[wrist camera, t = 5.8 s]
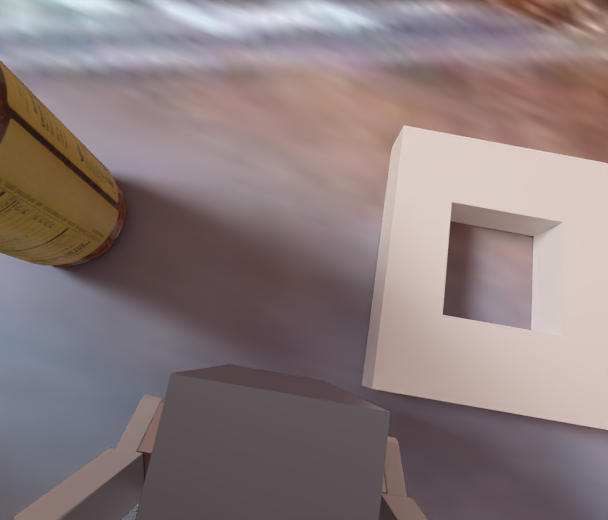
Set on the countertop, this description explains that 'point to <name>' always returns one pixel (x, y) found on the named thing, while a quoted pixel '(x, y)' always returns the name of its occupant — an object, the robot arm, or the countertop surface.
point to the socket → (545, 284)
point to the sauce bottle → (51, 186)
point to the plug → (264, 449)
